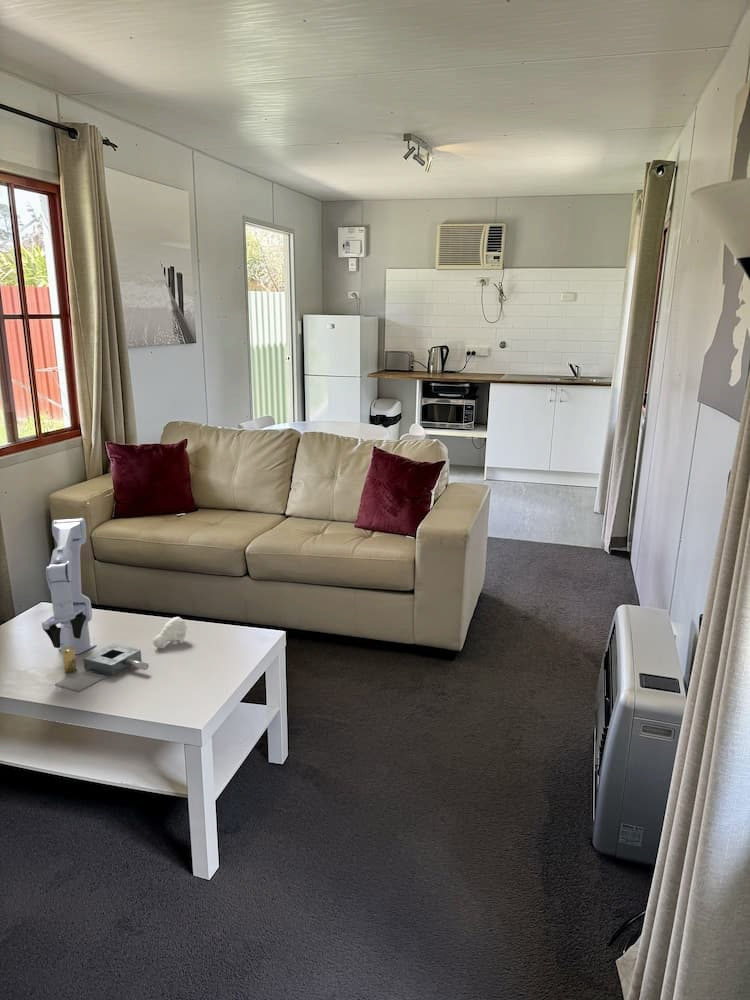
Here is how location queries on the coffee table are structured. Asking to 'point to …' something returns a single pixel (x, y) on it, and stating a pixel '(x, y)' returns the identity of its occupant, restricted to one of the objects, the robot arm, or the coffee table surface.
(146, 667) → the chuck block
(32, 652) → the coffee table surface
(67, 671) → the gold metal cylinder
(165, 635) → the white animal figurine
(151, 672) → the coffee table surface
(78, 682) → the rubber mat
